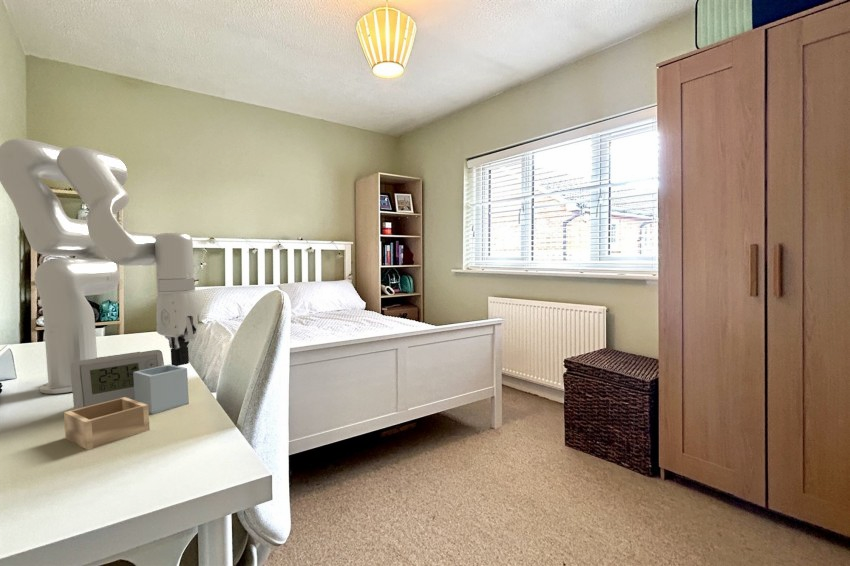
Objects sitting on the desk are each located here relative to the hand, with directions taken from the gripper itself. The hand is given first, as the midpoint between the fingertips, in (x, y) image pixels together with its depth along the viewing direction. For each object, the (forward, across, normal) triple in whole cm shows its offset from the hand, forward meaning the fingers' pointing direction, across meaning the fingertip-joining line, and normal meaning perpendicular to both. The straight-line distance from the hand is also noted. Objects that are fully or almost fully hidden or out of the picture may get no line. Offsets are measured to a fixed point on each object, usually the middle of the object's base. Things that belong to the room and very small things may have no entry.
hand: (180, 364), depth 99 cm
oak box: (+6, +17, -21) cm, 28 cm away
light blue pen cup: (+6, +10, -9) cm, 15 cm away
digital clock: (+6, 0, -12) cm, 14 cm away
